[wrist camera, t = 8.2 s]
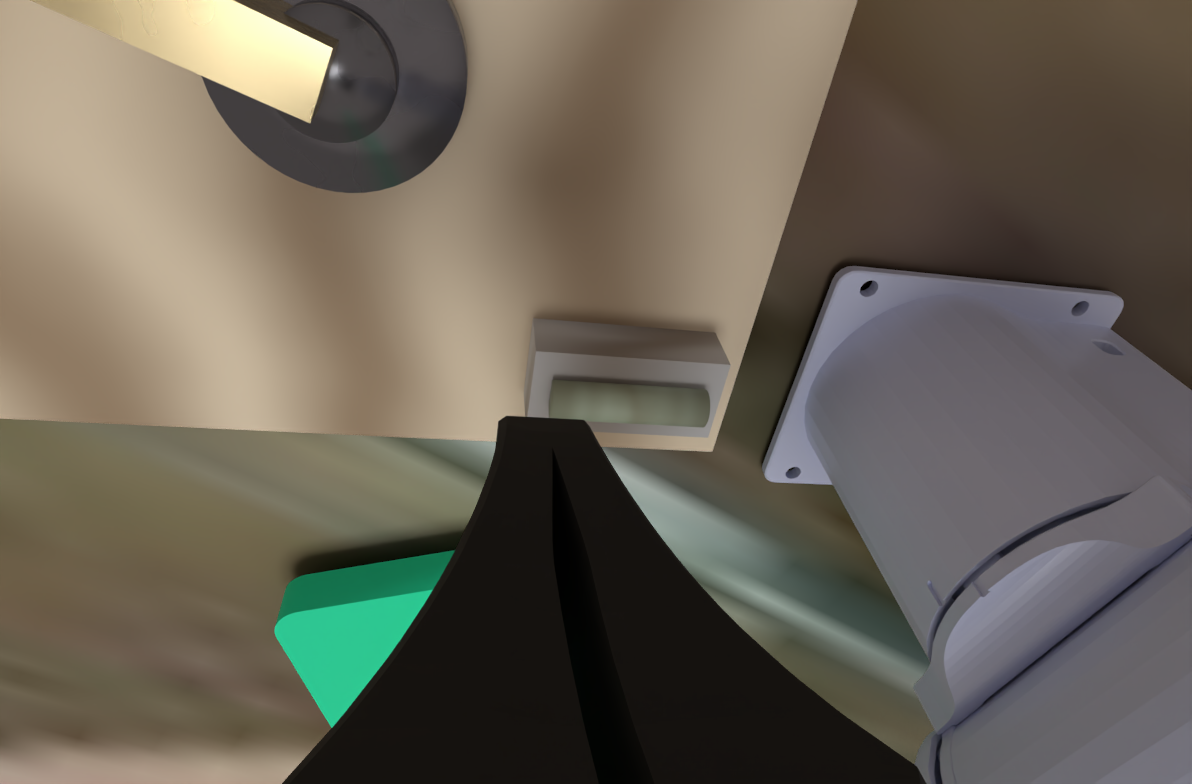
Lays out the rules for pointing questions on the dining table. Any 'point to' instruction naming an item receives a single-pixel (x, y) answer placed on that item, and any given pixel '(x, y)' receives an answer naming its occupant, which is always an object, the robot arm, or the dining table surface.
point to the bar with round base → (312, 77)
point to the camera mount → (352, 623)
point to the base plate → (412, 232)
